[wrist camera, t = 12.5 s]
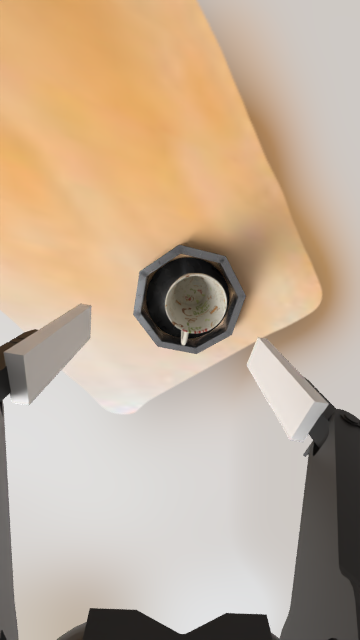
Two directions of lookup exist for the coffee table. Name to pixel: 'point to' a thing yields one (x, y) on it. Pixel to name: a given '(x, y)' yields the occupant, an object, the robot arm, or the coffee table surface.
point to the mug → (195, 304)
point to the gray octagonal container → (161, 287)
